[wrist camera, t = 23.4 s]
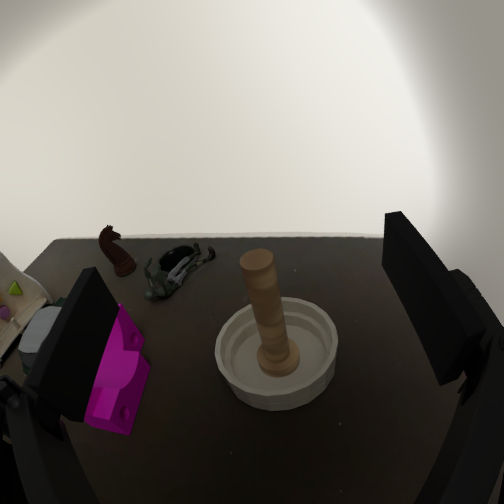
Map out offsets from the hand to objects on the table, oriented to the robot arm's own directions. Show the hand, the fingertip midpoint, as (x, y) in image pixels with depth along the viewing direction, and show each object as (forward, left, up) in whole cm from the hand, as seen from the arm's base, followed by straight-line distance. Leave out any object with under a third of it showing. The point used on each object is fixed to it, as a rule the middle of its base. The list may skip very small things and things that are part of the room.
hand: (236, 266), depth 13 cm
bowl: (-3, -9, -23) cm, 25 cm away
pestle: (-2, -9, -22) cm, 24 cm away
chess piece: (+18, -40, -23) cm, 50 cm away
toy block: (+17, -13, -23) cm, 32 cm away
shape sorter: (+45, -32, -23) cm, 60 cm away
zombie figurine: (+7, -31, -23) cm, 39 cm away
